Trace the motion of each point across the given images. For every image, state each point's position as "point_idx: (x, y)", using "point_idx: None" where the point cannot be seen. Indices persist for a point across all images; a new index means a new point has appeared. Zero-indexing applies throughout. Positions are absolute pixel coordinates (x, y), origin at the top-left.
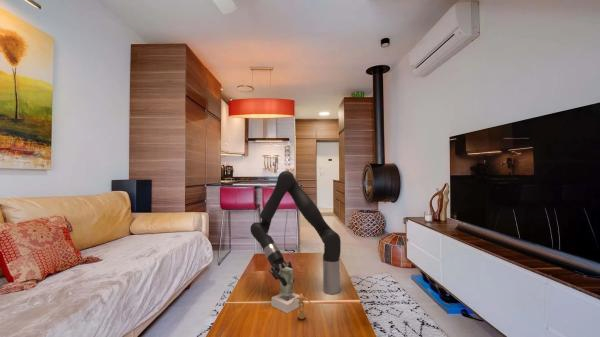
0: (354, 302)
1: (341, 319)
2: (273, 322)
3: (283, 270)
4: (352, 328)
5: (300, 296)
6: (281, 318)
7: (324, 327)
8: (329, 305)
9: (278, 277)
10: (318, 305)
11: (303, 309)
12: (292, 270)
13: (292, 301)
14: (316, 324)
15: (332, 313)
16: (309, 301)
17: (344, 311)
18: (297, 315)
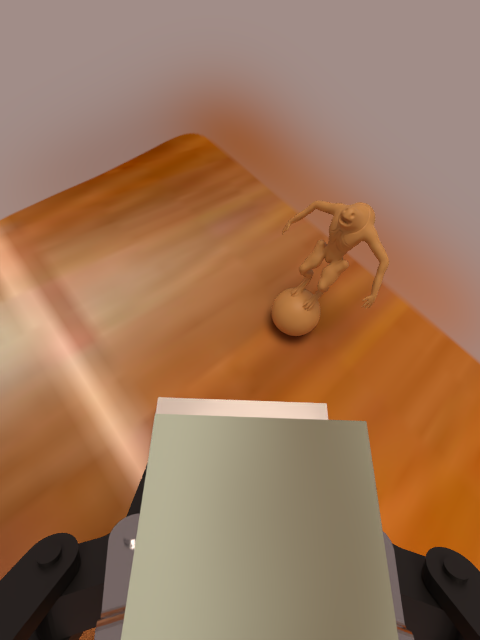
0: (6, 223)
1: (182, 204)
2: (429, 409)
3: (384, 553)
4: (213, 160)
5: (371, 209)
6: (370, 403)
7: (275, 221)
8: (94, 291)
9: (455, 559)
10: (124, 333)
11: (303, 281)
12: (182, 419)
13: (266, 406)
14: (280, 251)
15: (160, 246)
16: (301, 213)
17: (114, 220)
18: (316, 324)
